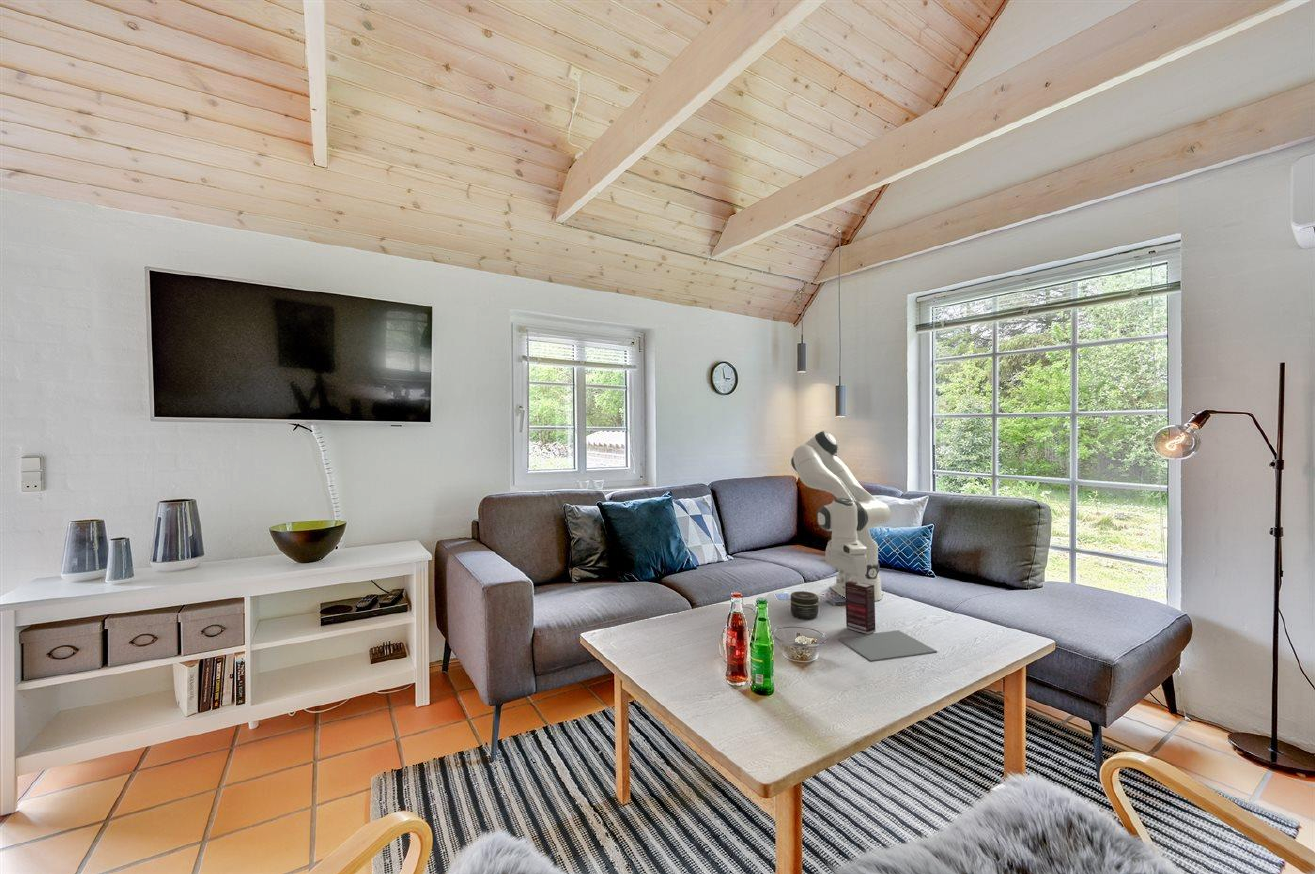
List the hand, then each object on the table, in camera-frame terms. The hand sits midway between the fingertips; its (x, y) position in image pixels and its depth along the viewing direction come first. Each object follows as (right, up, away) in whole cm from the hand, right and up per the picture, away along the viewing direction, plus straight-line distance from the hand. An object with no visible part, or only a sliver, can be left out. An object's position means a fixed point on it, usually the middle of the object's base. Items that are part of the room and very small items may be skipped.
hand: (844, 582), depth 187 cm
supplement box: (+2, -14, -8) cm, 17 cm away
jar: (-13, -14, +6) cm, 20 cm away
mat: (+6, -14, -20) cm, 26 cm away
